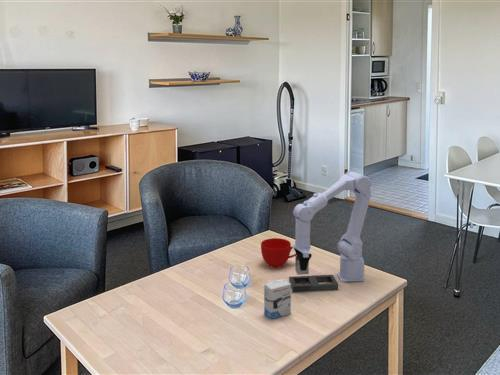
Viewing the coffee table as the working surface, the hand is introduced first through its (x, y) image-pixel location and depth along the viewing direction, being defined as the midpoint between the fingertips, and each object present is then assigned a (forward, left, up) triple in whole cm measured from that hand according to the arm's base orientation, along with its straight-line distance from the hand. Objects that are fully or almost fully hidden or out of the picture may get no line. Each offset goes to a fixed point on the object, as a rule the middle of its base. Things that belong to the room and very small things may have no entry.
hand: (302, 267), depth 198 cm
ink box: (+12, +20, -8) cm, 25 cm away
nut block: (0, 0, -2) cm, 2 cm away
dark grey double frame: (-5, 0, -8) cm, 9 cm away
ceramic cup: (+5, -22, -8) cm, 24 cm away
